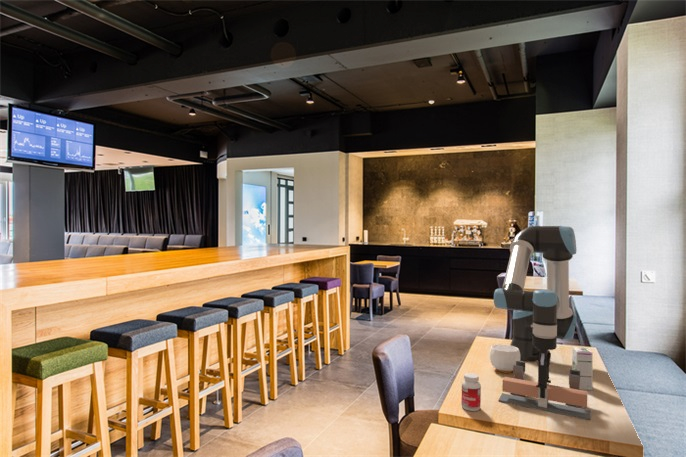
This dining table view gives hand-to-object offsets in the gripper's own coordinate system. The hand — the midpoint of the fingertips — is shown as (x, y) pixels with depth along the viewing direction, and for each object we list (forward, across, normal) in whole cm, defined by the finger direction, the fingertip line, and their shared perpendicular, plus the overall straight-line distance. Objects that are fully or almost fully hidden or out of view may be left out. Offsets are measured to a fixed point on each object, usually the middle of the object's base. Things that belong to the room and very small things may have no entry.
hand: (543, 404), depth 147 cm
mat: (+1, 0, 0) cm, 1 cm away
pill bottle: (+1, +14, -21) cm, 25 cm away
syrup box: (+1, -28, +11) cm, 30 cm away
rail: (-2, 0, 0) cm, 2 cm away
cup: (+1, -32, -18) cm, 37 cm away
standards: (+1, -9, 0) cm, 9 cm away
